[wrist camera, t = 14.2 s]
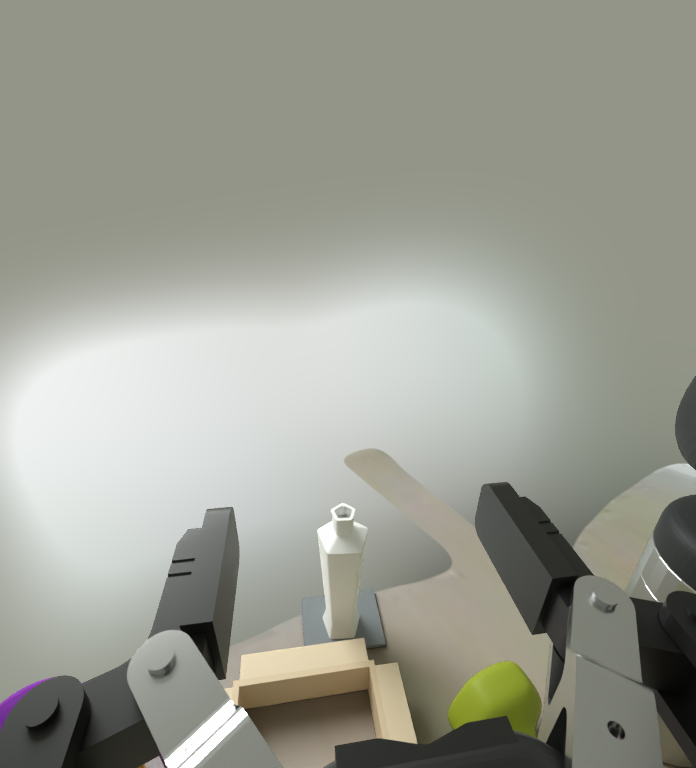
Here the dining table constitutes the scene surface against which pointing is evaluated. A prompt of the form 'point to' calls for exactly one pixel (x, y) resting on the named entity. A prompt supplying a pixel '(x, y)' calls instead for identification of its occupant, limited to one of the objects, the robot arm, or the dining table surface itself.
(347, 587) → the white vase
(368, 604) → the mat
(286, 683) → the carton
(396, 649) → the dining table surface
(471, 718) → the dumbbell
